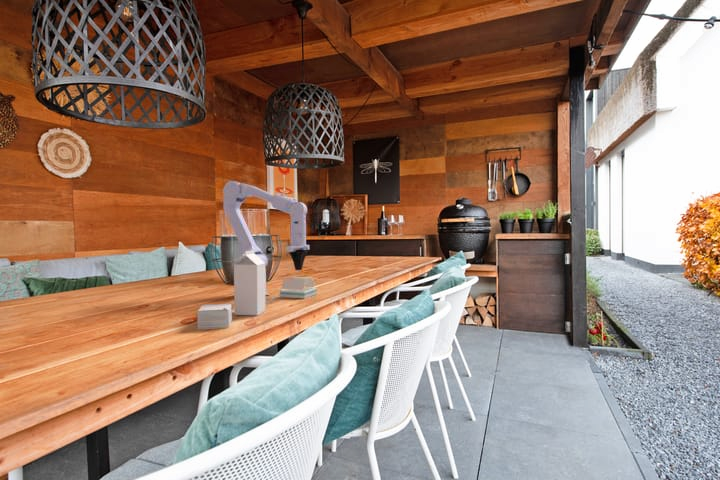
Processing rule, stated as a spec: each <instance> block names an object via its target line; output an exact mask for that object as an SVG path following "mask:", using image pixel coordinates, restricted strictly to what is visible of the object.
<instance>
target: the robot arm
mask: <svg viewBox="0 0 720 480" xmlns="http://www.w3.org/2000/svg"><path fill="white" fill-rule="evenodd" d="M221 193H222V195H223V210H224V213H225V215H226V218H227V219H228V221H229V224H230V225H231V227H232V230H233V232H234V234H235V237H236V238H237V241H238V242H239V245H240V247H241V249H242V254H241V255H243V254H245V251H250V250H254V253H255V254H256V255H257V256H258V257H259V258H260V259H261V260H262V261H264V262H265V296H270V294H269V293H268V292H267V269H266V267H267V266H268V264H269V259H268V256H266V255H265V253H263V251H262V249H261V248H260V247H259V246H258V245H257V244H256V242H255V240H254V237H253V235H252V233H251V231H250V229H249V227H248V225H247V223H246V220H245V218H244V216H243V213H242V211H241V210H240V208H241V206H242V203H244V201H245V200H246V199H247V198H248V197H249V198H252V197H255V198H258V199H260V200H263V201H266V202H268V203H270V204H271V207H272V208H274V209H276V210H278V211H281V212H283V213H286V214H289V216H290V245H288V246H286V248H285V249H286V250H285V251H286V252H287V253H289V255H290V257H291V259H292V262H293V265H294V269H295V271H302V270H303V267H304V263H305V258H306V257H307V255H308V251H309V250H310V244H307V222H306V219H307V214H308V207H307V205H306V204H305V203H304V202H302V201H299V202H298V201H297V198H291V197H288V196H287V195H286V194H285V193H283V192H282V193H276V194H272V193H270V192H268V191H266V190H263V189H261V188H259V187H257V186H255V185H251V184H246V183H242V182H238V181H235V180H229V181H227V182H226V183H225V184H224V186H223V189H222V190H221Z"/></svg>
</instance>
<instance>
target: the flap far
mask: <svg viewBox="0 0 720 480" xmlns="http://www.w3.org/2000/svg"><path fill="white" fill-rule="evenodd" d="M291 279H303V280H306V282H305V286H304V287H314V288H316V283H315V281H314V278H313V277H309V276H307V277H306V276H291Z"/></svg>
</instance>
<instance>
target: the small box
mask: <svg viewBox="0 0 720 480" xmlns="http://www.w3.org/2000/svg"><path fill="white" fill-rule="evenodd" d="M232 310H233V307H232V303H219V304H202V305H201V306H200V308H199V309H198V310H197V314H196V315H197V330H212V329H213V330H215V329H216V330H218V329H230V326H231V324H232V322H233V317H232V316H233V311H232Z"/></svg>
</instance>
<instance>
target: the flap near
mask: <svg viewBox="0 0 720 480" xmlns="http://www.w3.org/2000/svg"><path fill="white" fill-rule="evenodd" d="M305 282H306V280H303V279H292V278H283V281H282V284H281V285H282V286H281V289H280V290H283V289H290V290H304V287H306V286H305Z"/></svg>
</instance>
